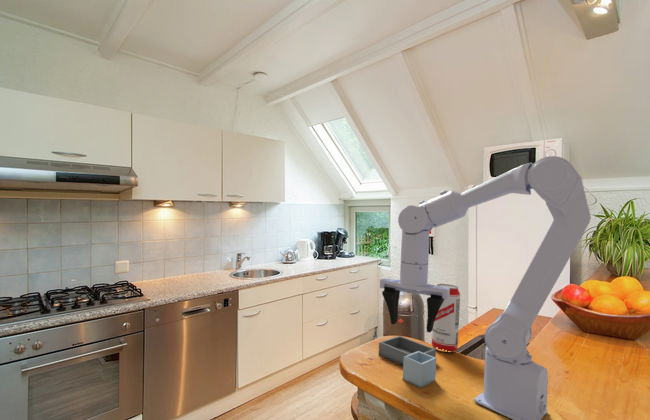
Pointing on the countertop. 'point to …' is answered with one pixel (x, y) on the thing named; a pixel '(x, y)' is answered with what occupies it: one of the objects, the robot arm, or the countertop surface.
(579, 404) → the countertop surface
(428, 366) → the small crate
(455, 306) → the beer can
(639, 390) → the countertop surface
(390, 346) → the box
